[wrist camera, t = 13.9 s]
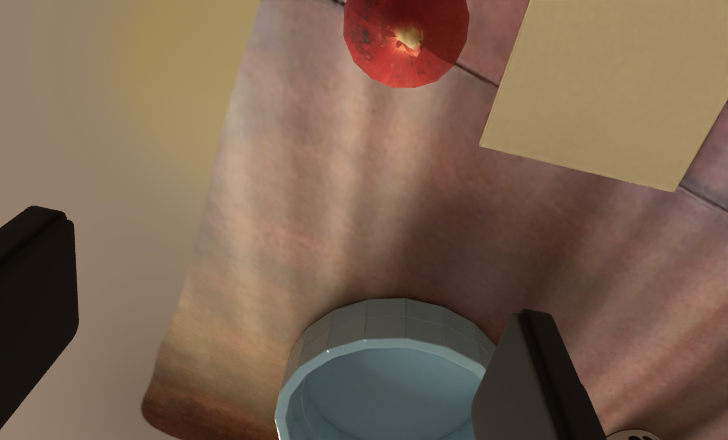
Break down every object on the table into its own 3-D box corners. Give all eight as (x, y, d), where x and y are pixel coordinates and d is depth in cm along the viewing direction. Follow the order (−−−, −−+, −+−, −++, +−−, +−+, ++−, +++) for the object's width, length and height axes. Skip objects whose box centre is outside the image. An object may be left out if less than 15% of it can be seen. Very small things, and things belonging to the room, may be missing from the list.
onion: (349, 65, 29) (331, 107, 22) (352, -51, 27) (333, -44, 20) (454, 71, 29) (469, 115, 22) (467, -45, 26) (490, -37, 19)
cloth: (478, 143, 31) (479, 146, 31) (577, -135, 24) (579, -136, 24) (671, 190, 32) (674, 193, 31) (819, -70, 25) (824, -70, 25)
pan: (274, 430, 44) (261, 479, 40) (307, 272, 36) (295, 313, 32) (464, 470, 45) (470, 522, 41) (538, 323, 37) (554, 370, 33)
